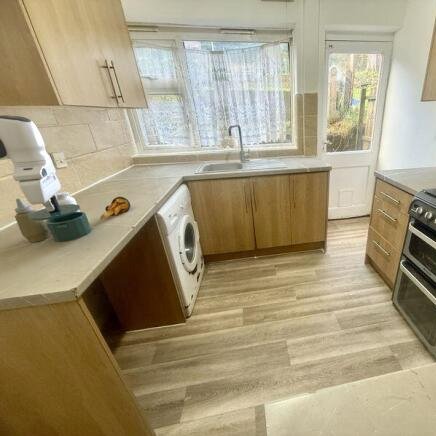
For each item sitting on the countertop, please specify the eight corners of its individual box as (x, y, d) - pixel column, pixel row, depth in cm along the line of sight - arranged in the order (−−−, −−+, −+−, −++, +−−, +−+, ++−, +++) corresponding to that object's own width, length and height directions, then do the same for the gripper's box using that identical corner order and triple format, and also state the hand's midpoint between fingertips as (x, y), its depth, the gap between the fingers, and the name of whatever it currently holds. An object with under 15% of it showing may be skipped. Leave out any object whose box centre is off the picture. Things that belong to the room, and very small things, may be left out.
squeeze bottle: (57, 235, 105) (36, 196, 97) (34, 245, 98) (10, 203, 90) (45, 233, 107) (24, 194, 100) (22, 242, 100) (-2, 201, 93)
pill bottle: (86, 221, 119) (73, 191, 112) (66, 227, 112) (51, 197, 106) (80, 218, 123) (67, 189, 116) (60, 224, 116) (45, 194, 110)
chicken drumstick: (136, 199, 132) (119, 199, 115) (131, 218, 133) (113, 222, 115) (118, 194, 131) (98, 194, 113) (113, 214, 131) (92, 217, 113)
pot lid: (22, 225, 78) (14, 208, 75) (37, 211, 88) (30, 196, 86) (76, 216, 84) (70, 200, 81) (84, 204, 94) (78, 190, 92)
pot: (48, 248, 95) (38, 228, 92) (60, 230, 110) (52, 213, 106) (88, 240, 101) (80, 221, 97) (94, 224, 115) (88, 207, 112)
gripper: (34, 165, 86) (50, 201, 92) (9, 176, 70) (30, 220, 76) (57, 163, 89) (71, 198, 95) (38, 174, 73) (57, 216, 78)
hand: (53, 208), depth 85 cm, fingers closed on pot lid, 3 cm apart
